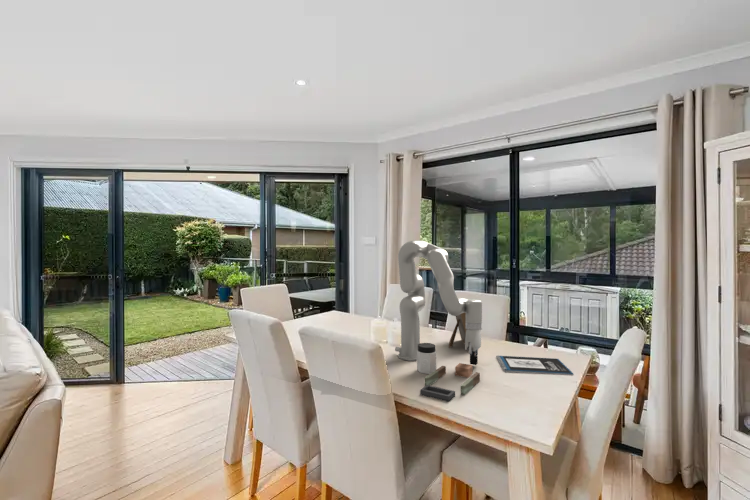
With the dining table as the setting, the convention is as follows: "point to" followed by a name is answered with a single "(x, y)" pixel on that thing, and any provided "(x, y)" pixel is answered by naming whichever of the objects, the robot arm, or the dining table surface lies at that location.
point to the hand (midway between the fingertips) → (473, 364)
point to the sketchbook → (532, 365)
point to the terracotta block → (463, 370)
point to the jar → (426, 358)
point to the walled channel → (442, 371)
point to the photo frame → (462, 328)
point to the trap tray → (437, 393)
